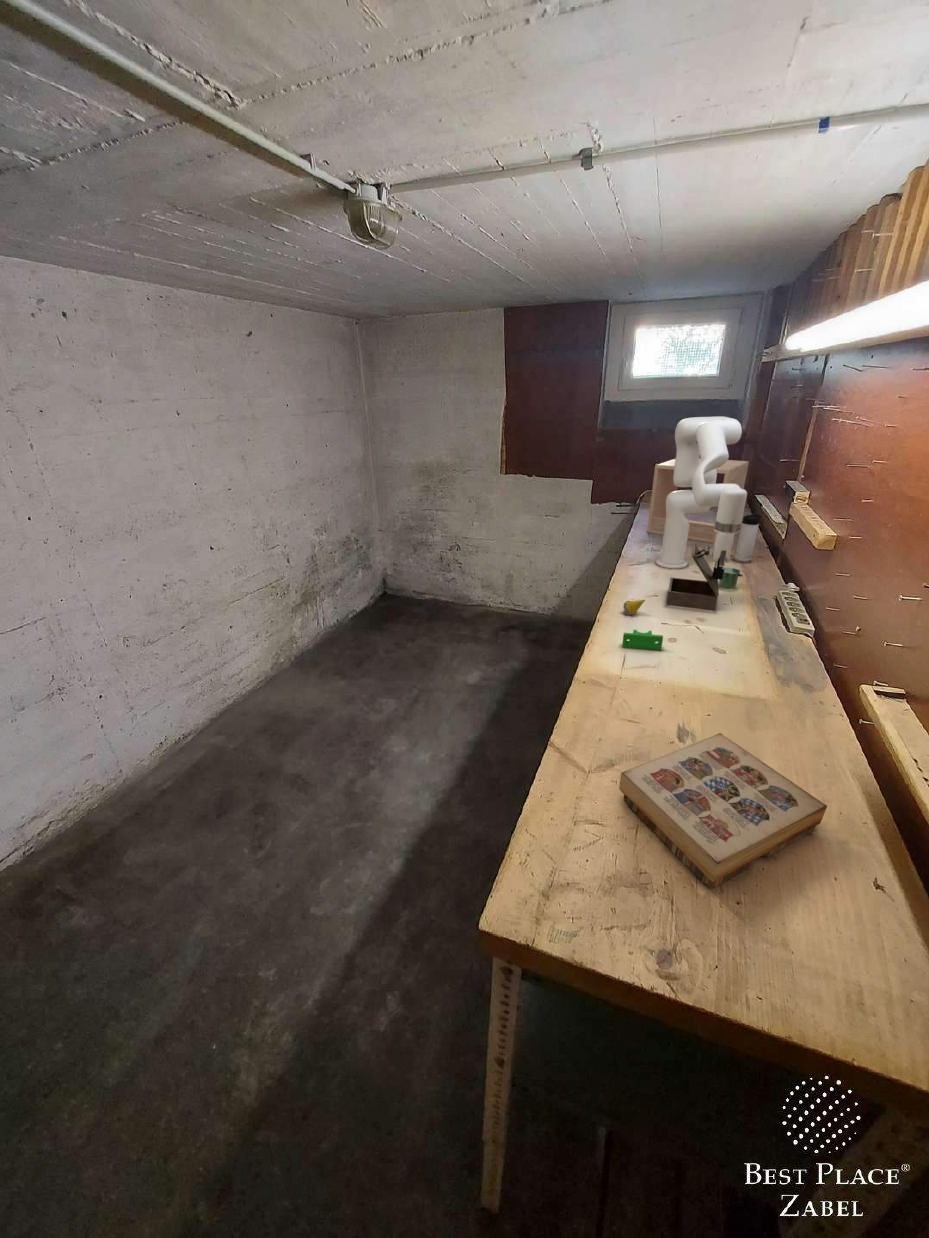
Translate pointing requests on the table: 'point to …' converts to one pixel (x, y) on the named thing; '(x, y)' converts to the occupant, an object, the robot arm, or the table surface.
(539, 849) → the table surface
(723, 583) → the pot
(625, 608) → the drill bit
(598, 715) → the table surface
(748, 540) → the travel mug
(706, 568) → the chest lid
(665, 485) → the storage cube
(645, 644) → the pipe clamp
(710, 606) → the chest
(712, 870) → the beige printed box
